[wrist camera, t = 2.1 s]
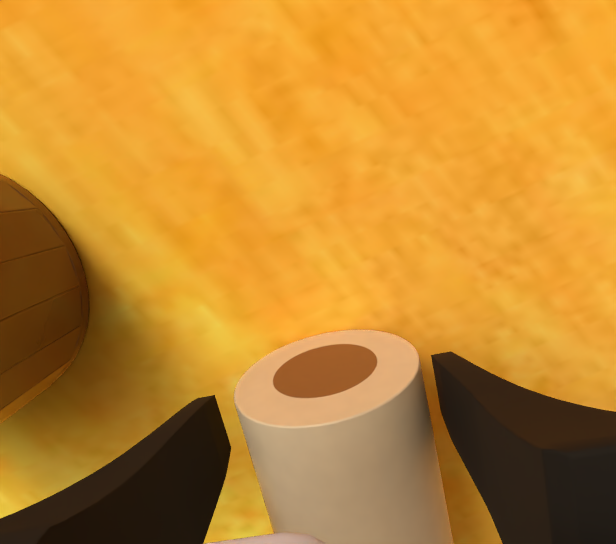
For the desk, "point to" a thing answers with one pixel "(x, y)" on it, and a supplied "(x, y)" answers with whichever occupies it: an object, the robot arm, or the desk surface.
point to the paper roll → (345, 440)
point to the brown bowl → (36, 298)
